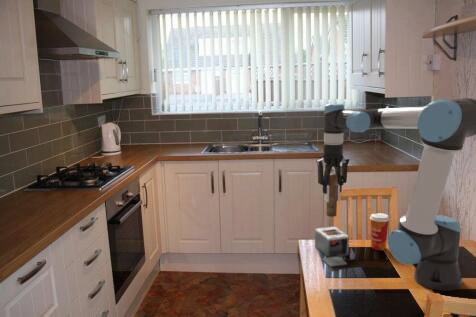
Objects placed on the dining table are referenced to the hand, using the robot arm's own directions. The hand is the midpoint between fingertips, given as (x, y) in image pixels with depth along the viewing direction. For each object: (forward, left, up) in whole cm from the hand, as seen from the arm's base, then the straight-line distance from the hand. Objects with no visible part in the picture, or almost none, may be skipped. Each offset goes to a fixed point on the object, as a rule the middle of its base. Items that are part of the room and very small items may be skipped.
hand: (331, 200), depth 177 cm
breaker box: (0, 0, -21) cm, 21 cm away
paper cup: (-20, +3, -22) cm, 30 cm away
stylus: (0, 0, -6) cm, 6 cm away
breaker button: (0, 0, -18) cm, 18 cm away
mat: (+4, +11, -21) cm, 24 cm away
